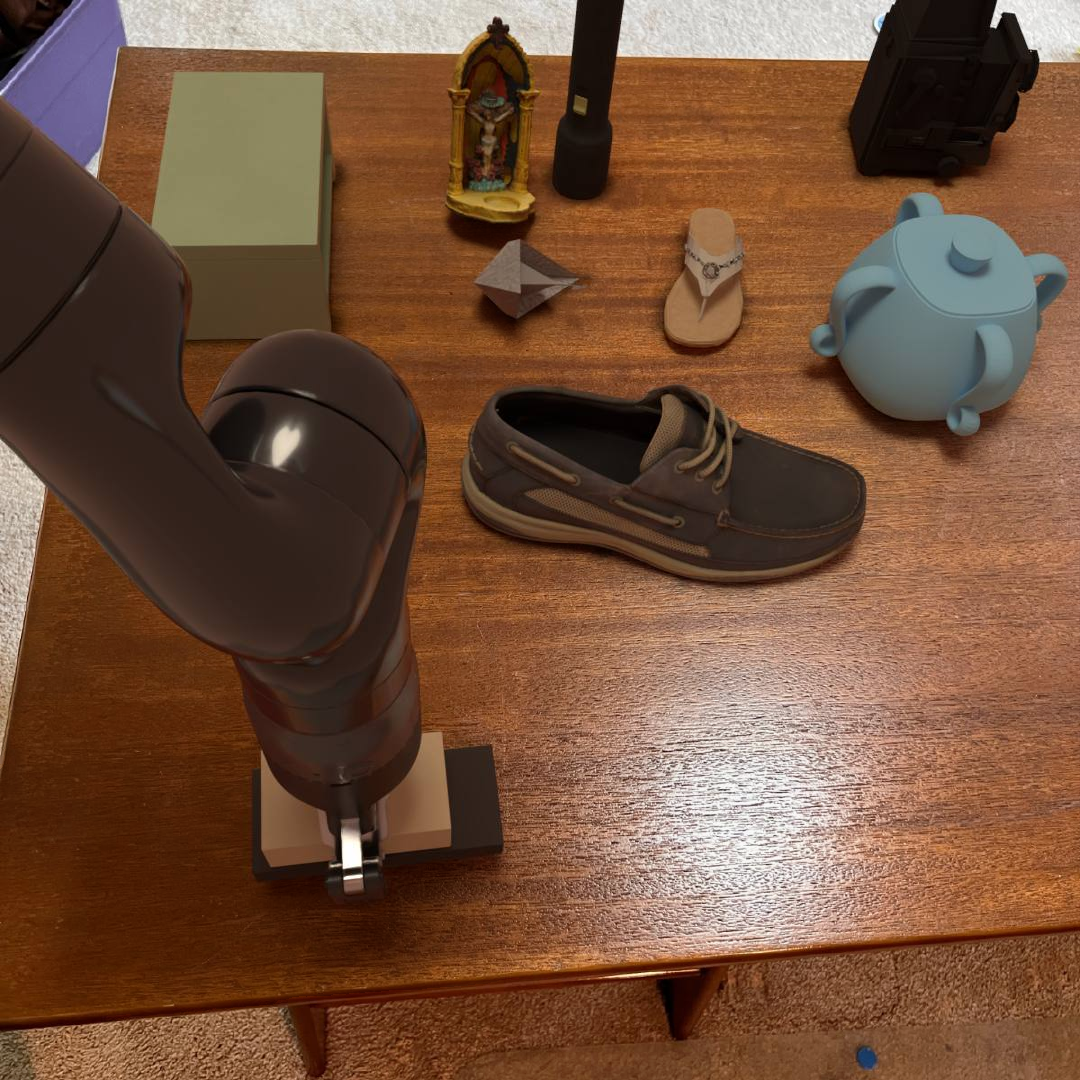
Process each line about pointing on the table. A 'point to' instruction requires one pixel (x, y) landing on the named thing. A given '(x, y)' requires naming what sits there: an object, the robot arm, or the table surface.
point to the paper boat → (523, 278)
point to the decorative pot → (939, 316)
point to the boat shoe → (658, 483)
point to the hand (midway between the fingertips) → (360, 812)
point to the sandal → (707, 283)
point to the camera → (940, 86)
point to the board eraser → (413, 815)
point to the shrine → (491, 129)
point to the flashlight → (588, 102)
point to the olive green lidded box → (249, 200)
